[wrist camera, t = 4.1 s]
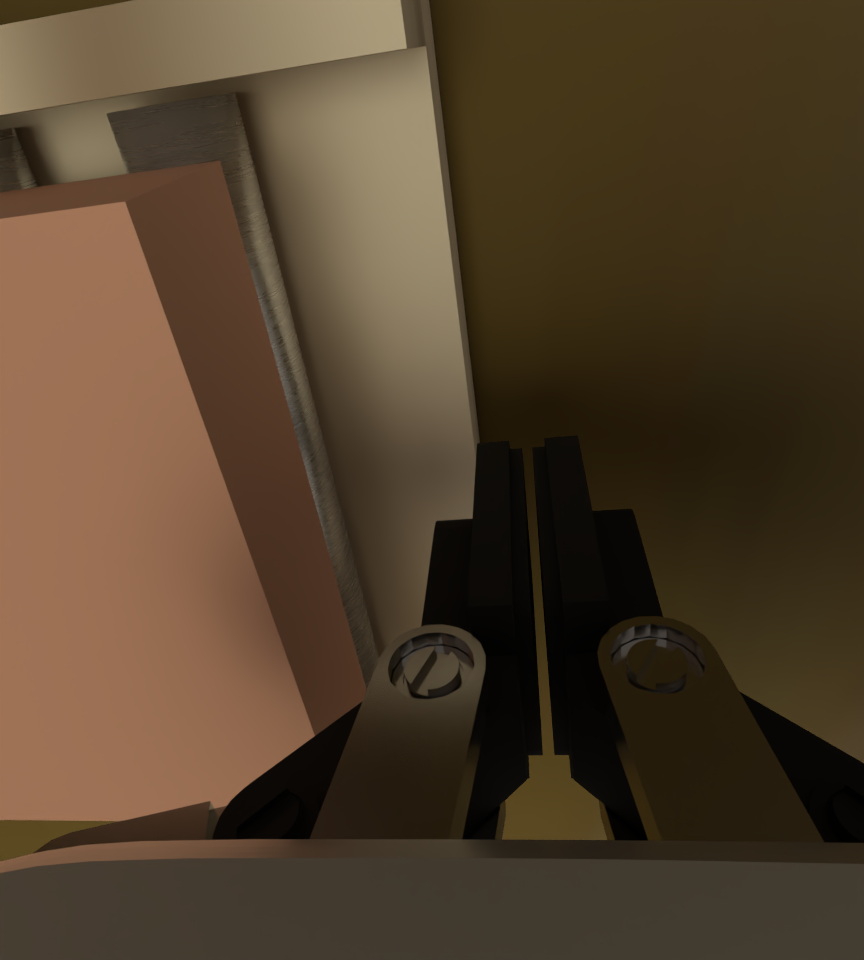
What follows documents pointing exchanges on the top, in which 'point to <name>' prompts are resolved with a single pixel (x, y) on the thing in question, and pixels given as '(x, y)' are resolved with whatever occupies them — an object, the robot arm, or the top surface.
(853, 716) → the top surface
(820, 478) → the top surface
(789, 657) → the top surface
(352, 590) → the rollers
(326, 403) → the roller bed
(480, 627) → the robot arm
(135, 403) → the slab
